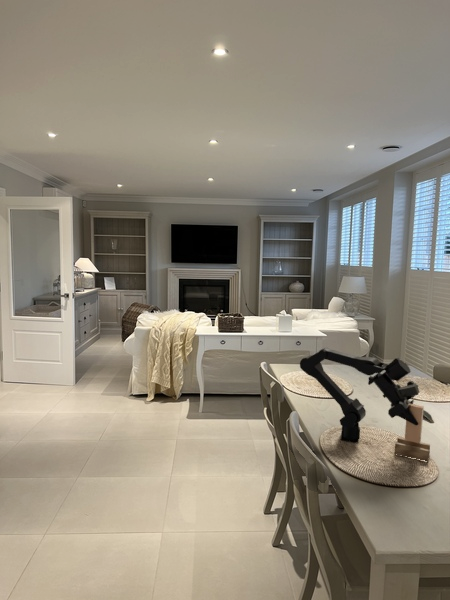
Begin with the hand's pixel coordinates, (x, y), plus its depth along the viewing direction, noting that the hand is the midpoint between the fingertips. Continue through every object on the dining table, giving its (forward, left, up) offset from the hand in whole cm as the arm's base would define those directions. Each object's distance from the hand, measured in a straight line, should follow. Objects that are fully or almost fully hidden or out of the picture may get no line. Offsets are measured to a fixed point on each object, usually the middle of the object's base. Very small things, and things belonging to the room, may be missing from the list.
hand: (418, 423), depth 149 cm
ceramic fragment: (+9, +43, -13) cm, 46 cm away
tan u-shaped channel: (-1, +2, -12) cm, 13 cm away
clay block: (-1, 0, -7) cm, 7 cm away
